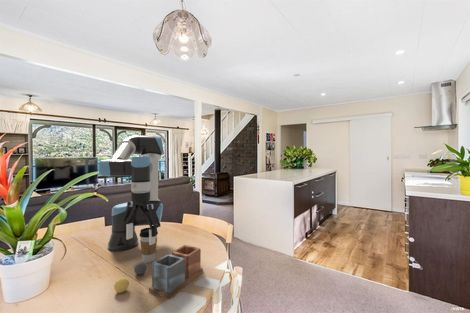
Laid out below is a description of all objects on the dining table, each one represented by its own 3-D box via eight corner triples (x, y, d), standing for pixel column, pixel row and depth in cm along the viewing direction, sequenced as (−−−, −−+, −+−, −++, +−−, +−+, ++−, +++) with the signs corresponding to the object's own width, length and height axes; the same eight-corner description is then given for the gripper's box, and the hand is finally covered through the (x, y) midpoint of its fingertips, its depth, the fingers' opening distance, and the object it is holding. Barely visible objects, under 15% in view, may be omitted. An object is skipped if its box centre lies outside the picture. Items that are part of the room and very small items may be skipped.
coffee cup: (146, 265, 104) (146, 233, 104) (135, 260, 109) (135, 229, 109) (161, 258, 111) (161, 228, 111) (150, 254, 116) (150, 225, 116)
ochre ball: (111, 293, 83) (111, 279, 83) (123, 286, 88) (123, 273, 88) (120, 297, 81) (120, 283, 81) (132, 289, 86) (132, 276, 86)
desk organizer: (148, 291, 85) (148, 263, 84) (184, 266, 103) (184, 243, 103) (169, 299, 80) (169, 269, 80) (203, 271, 99) (203, 248, 99)
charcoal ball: (131, 275, 96) (131, 263, 96) (141, 269, 100) (141, 258, 100) (139, 278, 94) (139, 266, 94) (149, 272, 98) (149, 261, 98)
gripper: (113, 190, 99) (113, 239, 99) (155, 195, 88) (155, 249, 88) (128, 188, 106) (128, 233, 106) (169, 192, 95) (169, 243, 95)
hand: (140, 241), depth 97 cm, fingers open, 13 cm apart
